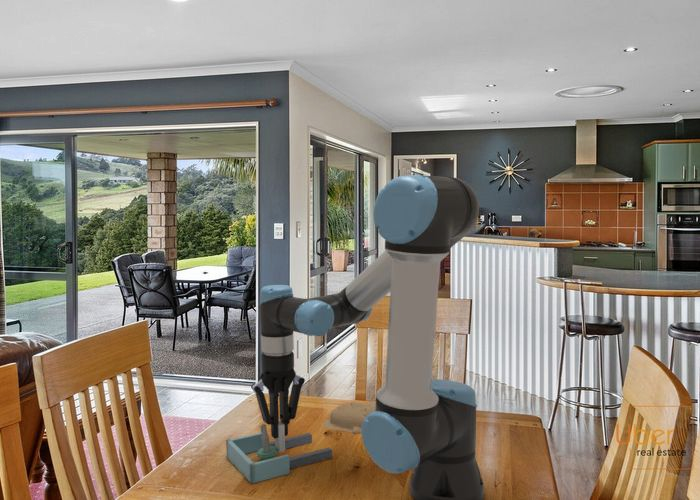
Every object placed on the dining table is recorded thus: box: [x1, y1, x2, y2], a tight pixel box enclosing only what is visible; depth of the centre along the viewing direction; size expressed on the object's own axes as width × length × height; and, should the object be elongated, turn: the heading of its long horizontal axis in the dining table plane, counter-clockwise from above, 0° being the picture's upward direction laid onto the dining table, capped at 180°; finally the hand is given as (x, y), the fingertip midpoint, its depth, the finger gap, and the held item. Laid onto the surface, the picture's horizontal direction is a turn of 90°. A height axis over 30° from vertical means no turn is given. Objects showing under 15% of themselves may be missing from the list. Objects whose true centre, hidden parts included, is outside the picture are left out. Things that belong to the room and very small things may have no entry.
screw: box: [256, 423, 279, 461], centre depth 135 cm, size 9×5×5 cm
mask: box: [322, 400, 376, 435], centre depth 158 cm, size 15×7×30 cm
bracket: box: [225, 432, 290, 484], centre depth 134 cm, size 16×9×4 cm, turn 31°
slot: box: [269, 432, 333, 469], centre depth 140 cm, size 12×12×2 cm
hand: (280, 449), depth 137 cm, fingers closed
